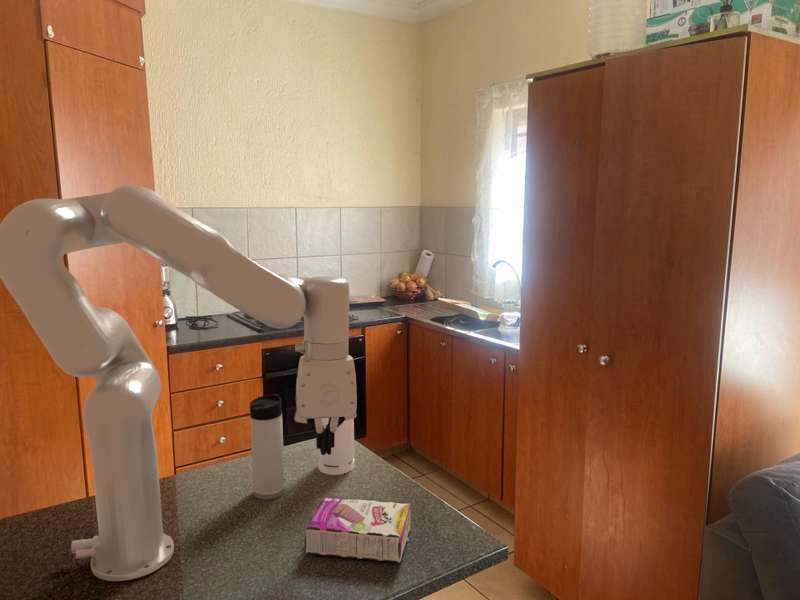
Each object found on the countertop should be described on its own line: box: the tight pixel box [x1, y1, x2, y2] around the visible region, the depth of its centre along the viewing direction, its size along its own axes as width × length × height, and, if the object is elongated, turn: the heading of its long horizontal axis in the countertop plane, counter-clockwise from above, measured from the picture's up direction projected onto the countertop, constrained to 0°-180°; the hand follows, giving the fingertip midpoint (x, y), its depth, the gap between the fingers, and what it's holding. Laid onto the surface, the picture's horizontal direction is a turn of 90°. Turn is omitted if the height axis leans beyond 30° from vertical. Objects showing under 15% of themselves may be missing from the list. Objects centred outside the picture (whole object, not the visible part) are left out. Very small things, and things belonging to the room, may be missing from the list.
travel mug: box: [249, 393, 286, 501], centre depth 117 cm, size 6×7×20 cm
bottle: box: [317, 418, 355, 476], centre depth 128 cm, size 8×8×28 cm
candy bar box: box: [304, 496, 412, 564], centre depth 101 cm, size 11×5×16 cm
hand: (325, 451), depth 102 cm, fingers closed
